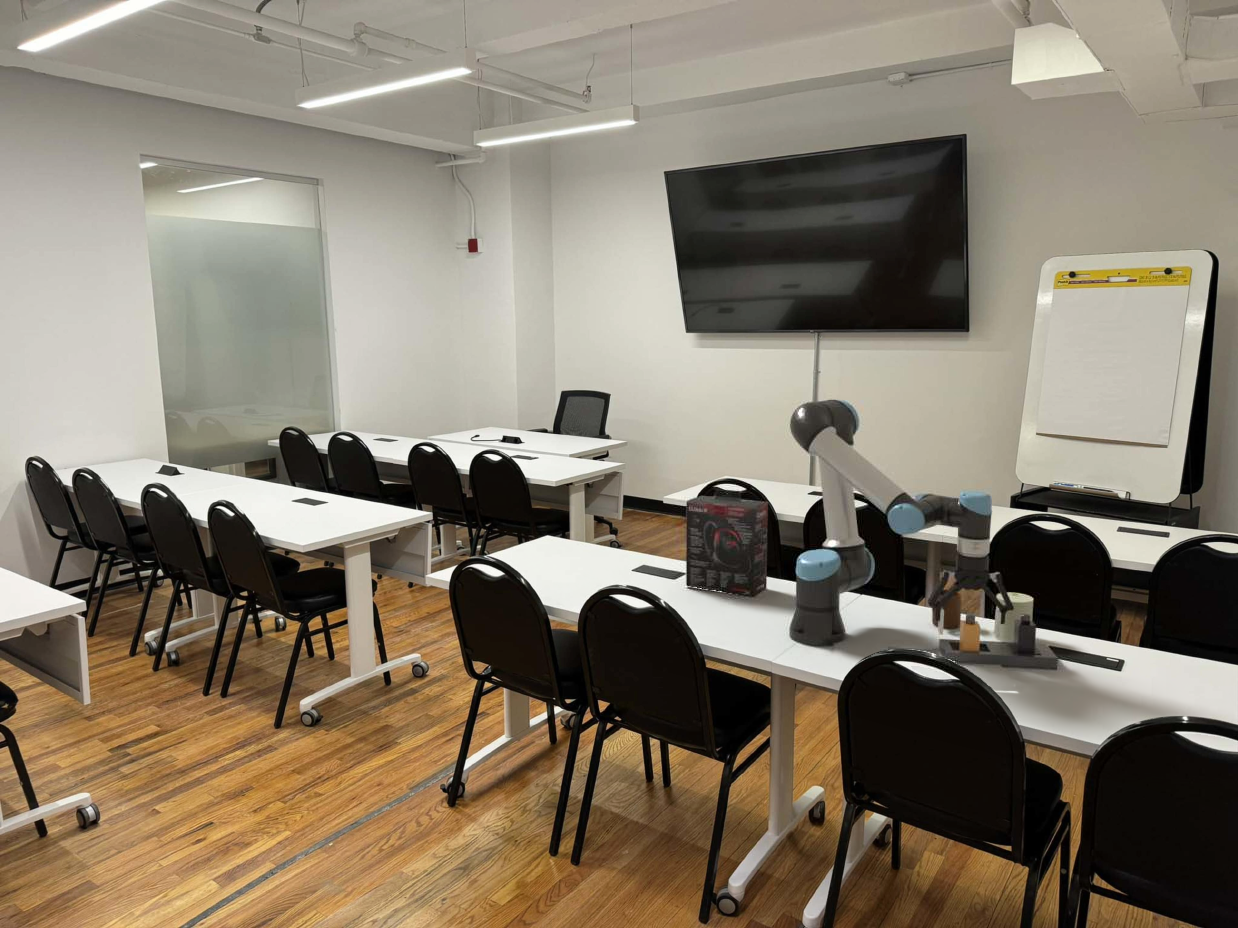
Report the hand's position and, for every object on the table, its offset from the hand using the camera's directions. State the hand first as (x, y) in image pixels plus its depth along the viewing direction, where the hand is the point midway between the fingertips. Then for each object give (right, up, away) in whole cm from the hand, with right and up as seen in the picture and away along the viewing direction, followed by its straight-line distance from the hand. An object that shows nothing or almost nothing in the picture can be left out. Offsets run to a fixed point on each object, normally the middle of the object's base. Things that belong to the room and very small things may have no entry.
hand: (968, 634), depth 219 cm
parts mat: (-13, -6, +2) cm, 15 cm away
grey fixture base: (+7, -6, -1) cm, 9 cm away
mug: (+3, -3, +24) cm, 25 cm away
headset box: (-53, +2, +66) cm, 85 cm away
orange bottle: (0, -6, 0) cm, 6 cm away
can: (+18, -4, +14) cm, 23 cm away
